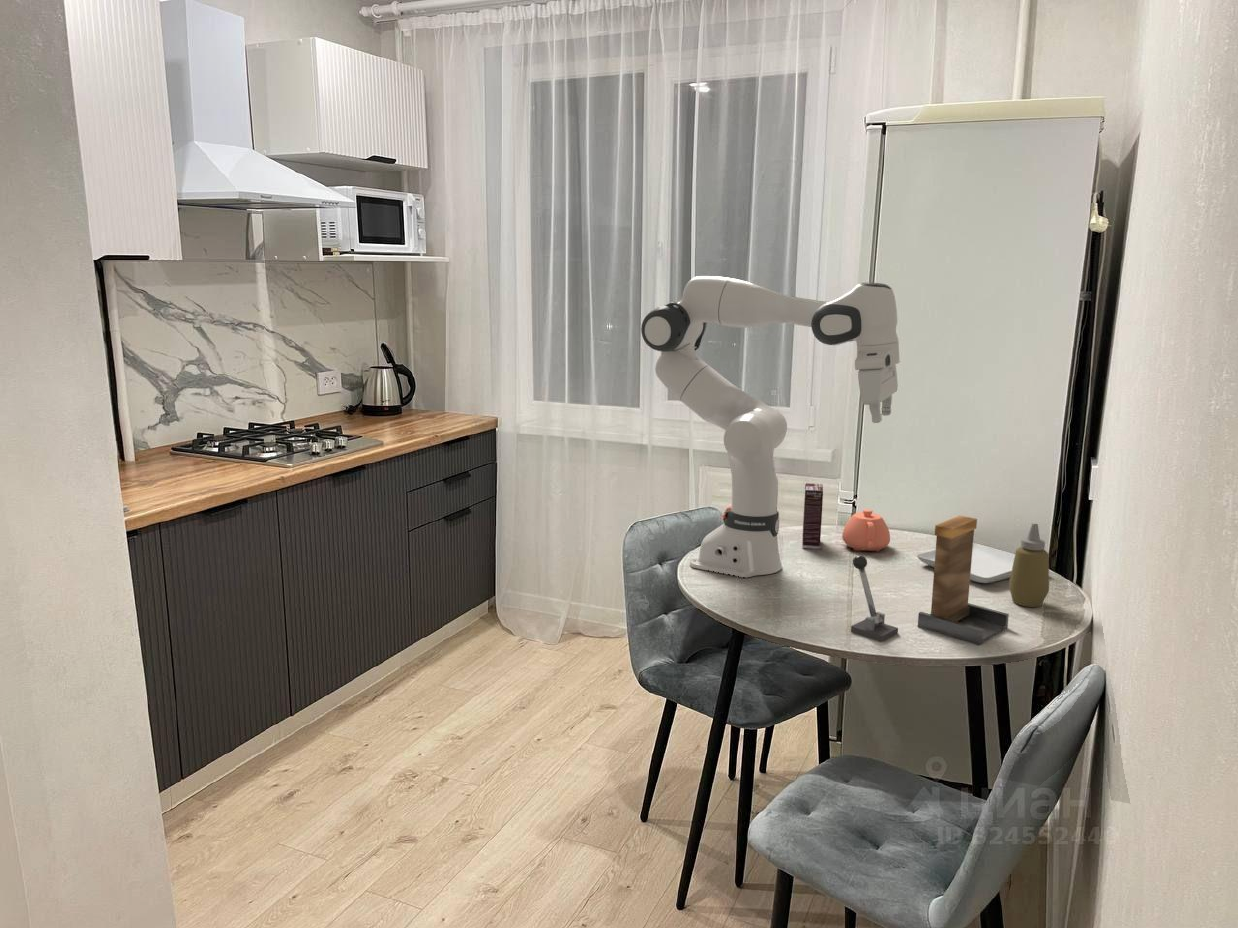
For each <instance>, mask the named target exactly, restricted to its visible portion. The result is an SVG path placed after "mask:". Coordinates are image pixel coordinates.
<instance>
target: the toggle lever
mask: <svg viewBox="0 0 1238 928" xmlns="http://www.w3.org/2000/svg"><path fill="white" fill-rule="evenodd" d="M852 565H853V567H854V568H855V569H857V570H858V571H859V572H858V573H859V577H860V580H861V583H862V587H863V590H864V591H863V592H864V595H865V599H866V603H867V607H868V610H869V615H870V616H869V617H870V618H874V619H875V625H874V627H875V626H877V625H879V624H881V623H882V621H883V619H882V617H881V615H879V614H876V612H877V610H876V607H875V604H874V599H873V596H872V591H871V587H870V584H869V580H868V577H867V572H866V567H867V565H868V559H867V558H866V557H865V556H864V555H861V554H860V555H859V554H858V555H856V556H855V557H854V558H853V560H852Z"/></svg>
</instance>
